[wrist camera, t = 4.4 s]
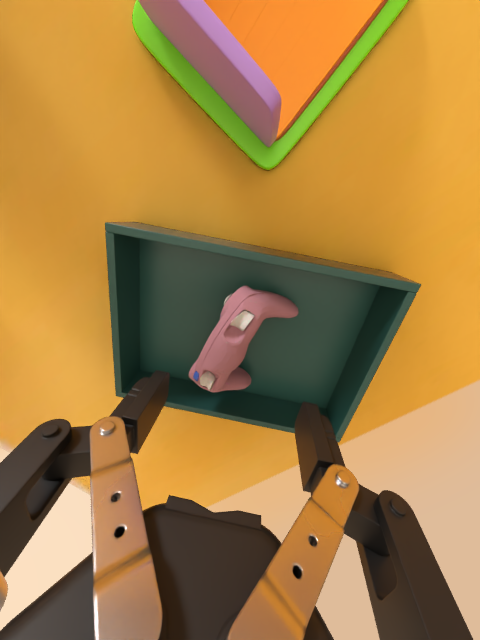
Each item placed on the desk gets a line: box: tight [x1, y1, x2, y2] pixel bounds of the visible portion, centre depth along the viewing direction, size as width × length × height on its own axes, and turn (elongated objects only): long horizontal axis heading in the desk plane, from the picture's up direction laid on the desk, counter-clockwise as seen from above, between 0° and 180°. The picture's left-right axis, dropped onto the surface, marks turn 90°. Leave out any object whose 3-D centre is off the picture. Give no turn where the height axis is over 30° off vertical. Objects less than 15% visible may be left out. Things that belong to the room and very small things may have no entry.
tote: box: [105, 222, 421, 442], centre depth 20 cm, size 15×21×4 cm
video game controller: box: [189, 286, 299, 392], centre depth 19 cm, size 10×5×7 cm, turn 153°
